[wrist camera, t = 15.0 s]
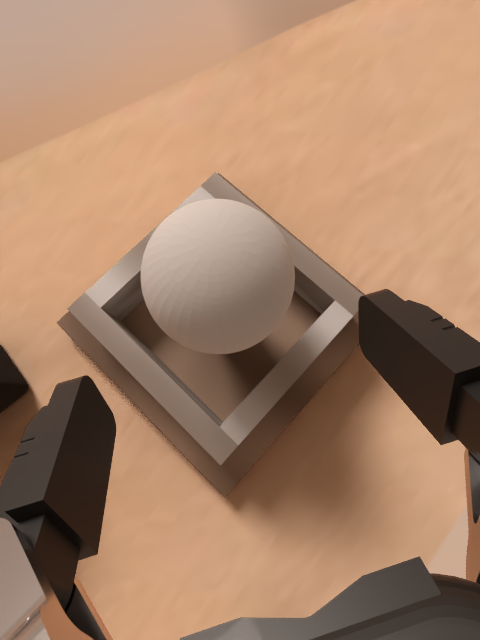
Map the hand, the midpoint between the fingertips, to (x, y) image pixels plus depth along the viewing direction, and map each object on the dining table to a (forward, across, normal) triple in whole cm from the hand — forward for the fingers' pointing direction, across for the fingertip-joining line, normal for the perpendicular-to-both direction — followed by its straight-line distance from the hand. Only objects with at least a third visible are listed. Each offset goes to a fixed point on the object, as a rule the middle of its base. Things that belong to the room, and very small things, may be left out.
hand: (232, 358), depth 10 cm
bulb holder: (+10, 0, +5) cm, 11 cm away
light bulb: (+9, 0, +4) cm, 10 cm away
